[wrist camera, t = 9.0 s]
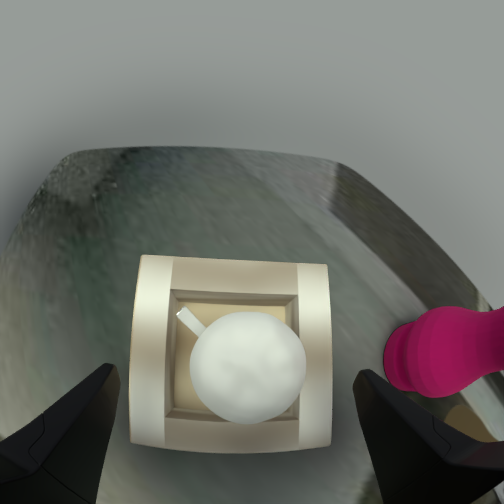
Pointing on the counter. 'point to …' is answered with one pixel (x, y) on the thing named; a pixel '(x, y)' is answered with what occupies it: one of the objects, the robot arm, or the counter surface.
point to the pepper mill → (445, 350)
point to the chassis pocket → (183, 339)
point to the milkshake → (245, 365)
